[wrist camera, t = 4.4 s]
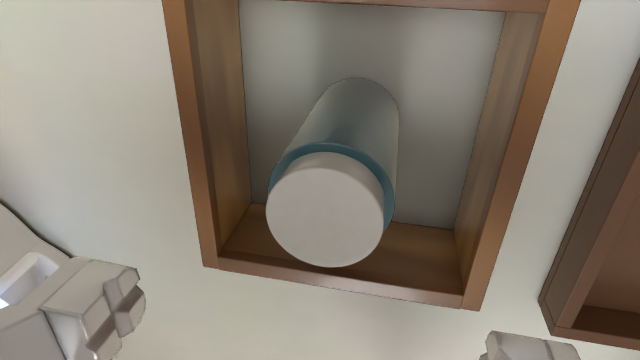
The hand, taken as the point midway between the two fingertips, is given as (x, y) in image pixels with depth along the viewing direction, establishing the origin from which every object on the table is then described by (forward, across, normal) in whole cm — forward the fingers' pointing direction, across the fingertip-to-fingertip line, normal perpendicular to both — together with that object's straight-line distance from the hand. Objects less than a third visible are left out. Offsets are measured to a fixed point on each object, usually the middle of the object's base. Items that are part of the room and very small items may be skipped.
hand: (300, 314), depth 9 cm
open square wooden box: (+13, 0, 0) cm, 13 cm away
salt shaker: (+13, 0, 0) cm, 13 cm away
